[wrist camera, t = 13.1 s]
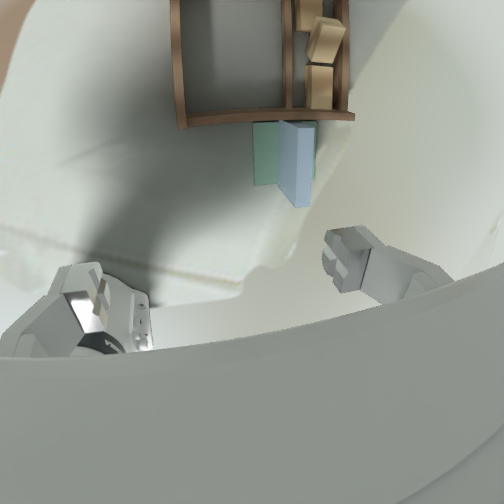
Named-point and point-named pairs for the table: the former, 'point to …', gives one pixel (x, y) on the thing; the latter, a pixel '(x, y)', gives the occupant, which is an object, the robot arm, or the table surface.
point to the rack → (287, 110)
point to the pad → (271, 151)
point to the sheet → (296, 161)
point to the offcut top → (324, 39)
